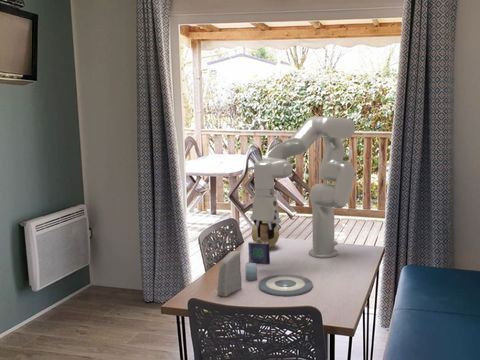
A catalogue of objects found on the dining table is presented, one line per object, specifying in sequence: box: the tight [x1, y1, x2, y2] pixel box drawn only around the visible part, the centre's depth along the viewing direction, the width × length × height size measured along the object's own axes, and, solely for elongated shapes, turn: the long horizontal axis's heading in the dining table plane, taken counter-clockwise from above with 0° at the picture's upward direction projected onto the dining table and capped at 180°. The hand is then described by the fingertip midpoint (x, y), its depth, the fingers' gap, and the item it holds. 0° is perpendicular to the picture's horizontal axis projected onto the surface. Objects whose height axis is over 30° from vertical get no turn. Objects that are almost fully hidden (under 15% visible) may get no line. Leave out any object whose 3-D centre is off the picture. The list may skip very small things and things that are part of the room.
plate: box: [258, 273, 314, 297], centre depth 196 cm, size 20×20×1 cm
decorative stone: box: [216, 250, 242, 297], centre depth 191 cm, size 11×6×15 cm, turn 148°
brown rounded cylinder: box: [260, 223, 271, 240], centre depth 210 cm, size 4×4×6 cm
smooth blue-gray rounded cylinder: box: [244, 262, 258, 282], centre depth 204 cm, size 4×4×6 cm
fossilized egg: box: [251, 221, 280, 249], centre depth 244 cm, size 13×13×15 cm
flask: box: [247, 238, 271, 265], centre depth 223 cm, size 9×3×11 cm, turn 71°
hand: (266, 237), depth 210 cm, fingers closed on brown rounded cylinder, 4 cm apart
